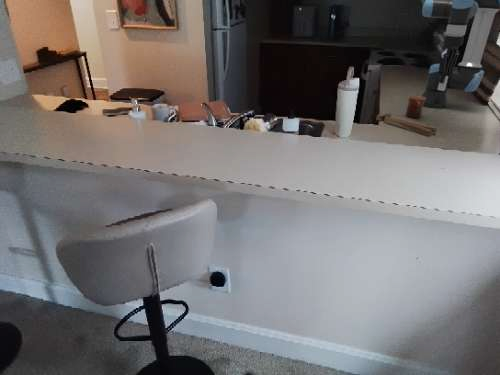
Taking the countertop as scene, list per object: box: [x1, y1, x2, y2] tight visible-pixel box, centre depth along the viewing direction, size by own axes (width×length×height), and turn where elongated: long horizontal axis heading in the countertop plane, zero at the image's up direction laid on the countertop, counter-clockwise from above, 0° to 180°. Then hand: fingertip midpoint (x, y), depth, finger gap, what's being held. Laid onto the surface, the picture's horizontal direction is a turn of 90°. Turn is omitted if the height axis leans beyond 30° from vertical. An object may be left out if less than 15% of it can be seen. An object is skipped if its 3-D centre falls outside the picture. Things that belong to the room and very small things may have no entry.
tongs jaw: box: [390, 116, 438, 136], centre depth 183 cm, size 3×23×3 cm, turn 39°
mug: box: [405, 94, 426, 119], centre depth 197 cm, size 12×9×10 cm
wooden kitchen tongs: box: [375, 113, 432, 137], centre depth 184 cm, size 5×29×3 cm, turn 36°
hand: (441, 90), depth 176 cm, fingers closed
